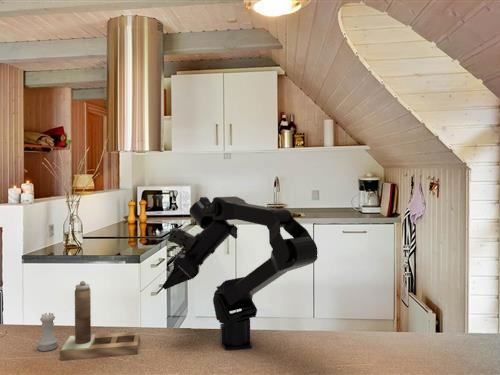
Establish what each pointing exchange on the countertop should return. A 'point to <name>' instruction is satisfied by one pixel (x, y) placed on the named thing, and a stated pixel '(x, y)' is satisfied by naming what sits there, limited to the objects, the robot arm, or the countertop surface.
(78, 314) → the pepper mill
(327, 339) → the countertop surface
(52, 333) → the rook chess piece
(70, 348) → the board
